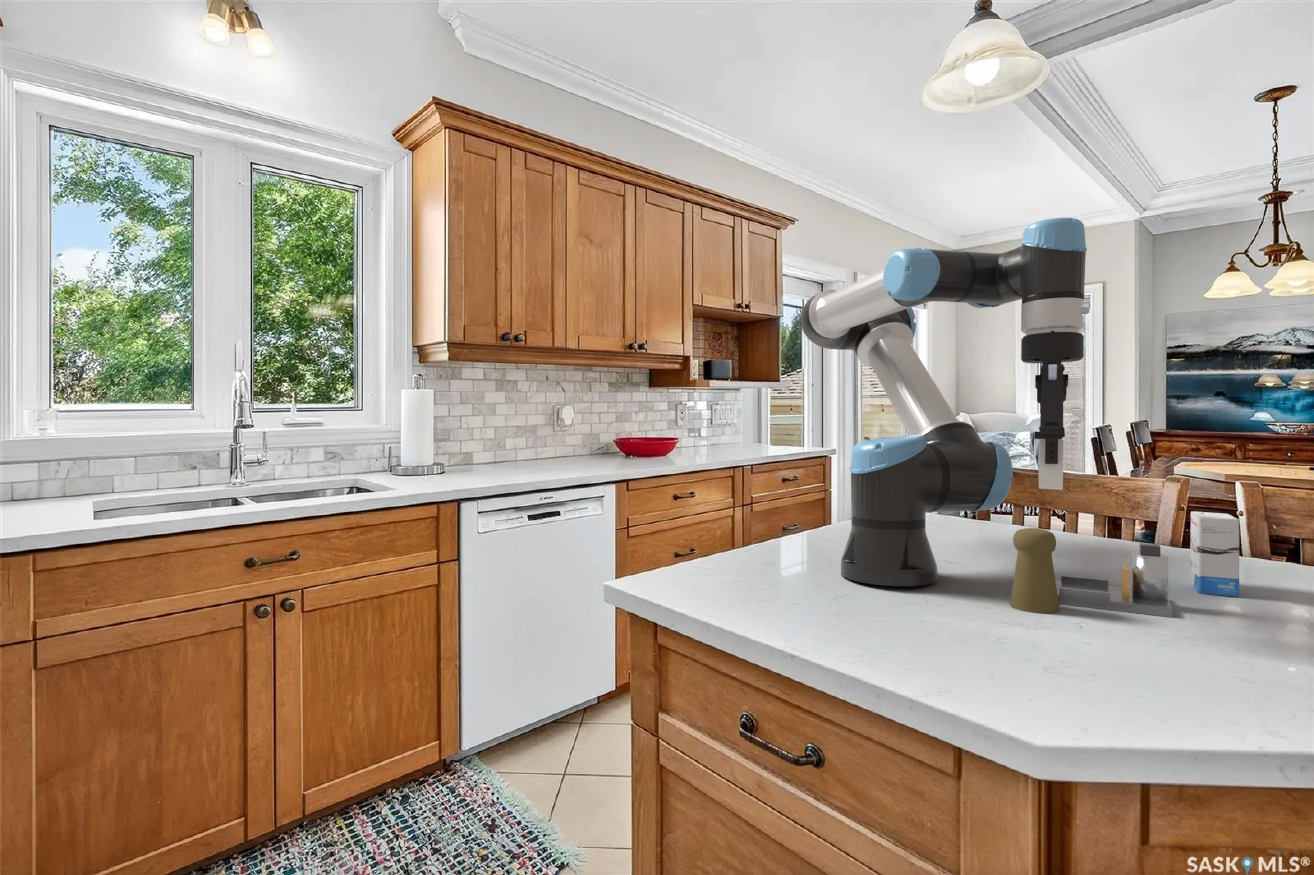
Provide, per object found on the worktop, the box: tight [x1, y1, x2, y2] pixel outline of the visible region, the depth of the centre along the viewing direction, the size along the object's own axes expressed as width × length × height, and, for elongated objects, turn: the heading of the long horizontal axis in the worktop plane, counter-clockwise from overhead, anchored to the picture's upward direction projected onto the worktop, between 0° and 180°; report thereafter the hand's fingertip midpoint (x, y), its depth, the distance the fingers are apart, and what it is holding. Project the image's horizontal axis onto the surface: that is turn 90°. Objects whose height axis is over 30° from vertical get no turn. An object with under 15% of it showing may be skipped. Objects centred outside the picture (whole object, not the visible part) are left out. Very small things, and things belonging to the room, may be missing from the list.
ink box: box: [1189, 510, 1240, 598], centre depth 101 cm, size 8×5×12 cm, turn 148°
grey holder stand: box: [1055, 542, 1173, 618], centre depth 95 cm, size 15×11×9 cm
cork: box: [1009, 527, 1061, 614], centre depth 91 cm, size 6×6×11 cm
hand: (1049, 485), depth 92 cm, fingers open, 13 cm apart
